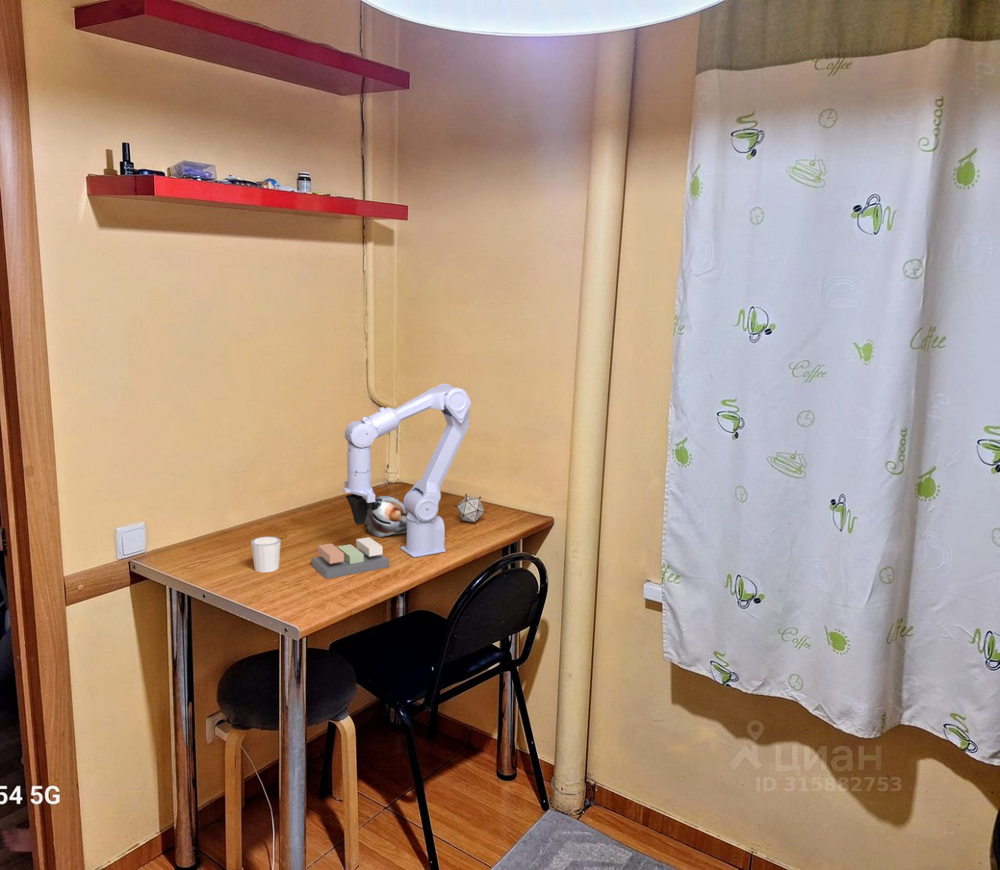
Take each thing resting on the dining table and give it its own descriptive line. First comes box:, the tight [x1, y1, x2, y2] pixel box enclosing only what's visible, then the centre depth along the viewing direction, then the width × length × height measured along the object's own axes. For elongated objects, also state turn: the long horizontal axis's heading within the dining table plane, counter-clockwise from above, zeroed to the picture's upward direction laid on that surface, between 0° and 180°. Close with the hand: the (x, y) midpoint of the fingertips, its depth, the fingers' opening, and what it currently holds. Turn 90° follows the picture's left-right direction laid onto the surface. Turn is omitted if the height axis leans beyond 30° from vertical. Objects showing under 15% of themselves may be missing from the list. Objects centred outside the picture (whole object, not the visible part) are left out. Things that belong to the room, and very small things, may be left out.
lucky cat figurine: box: [364, 495, 408, 538], centre depth 218 cm, size 15×12×14 cm
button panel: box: [311, 549, 390, 580], centre depth 194 cm, size 16×10×2 cm, turn 123°
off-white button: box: [355, 536, 384, 557], centre depth 196 cm, size 4×8×2 cm, turn 33°
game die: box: [453, 493, 488, 526], centre depth 231 cm, size 9×8×10 cm
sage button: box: [336, 543, 364, 564], centre depth 194 cm, size 4×8×2 cm, turn 33°
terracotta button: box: [317, 543, 344, 564], centre depth 191 cm, size 4×8×2 cm, turn 33°
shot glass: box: [250, 536, 282, 573], centre depth 191 cm, size 7×7×7 cm
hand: (359, 523), depth 197 cm, fingers closed
